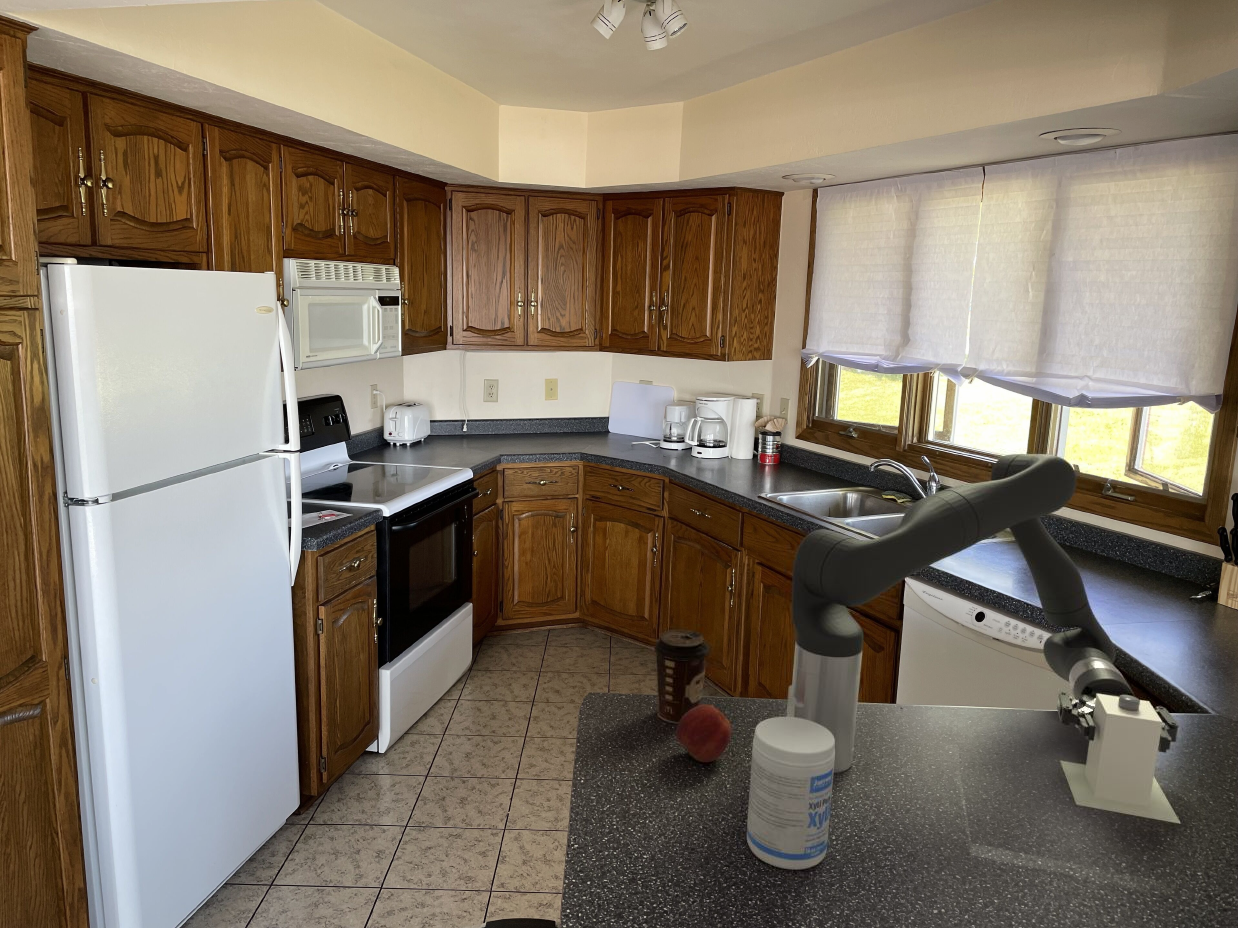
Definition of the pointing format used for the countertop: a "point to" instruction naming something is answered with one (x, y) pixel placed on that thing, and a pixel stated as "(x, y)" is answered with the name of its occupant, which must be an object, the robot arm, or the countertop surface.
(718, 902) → the countertop surface
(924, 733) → the countertop surface
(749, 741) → the countertop surface
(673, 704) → the coffee cup
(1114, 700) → the cover
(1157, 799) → the mat
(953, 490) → the robot arm
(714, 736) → the apple
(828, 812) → the supplement tub
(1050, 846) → the countertop surface
